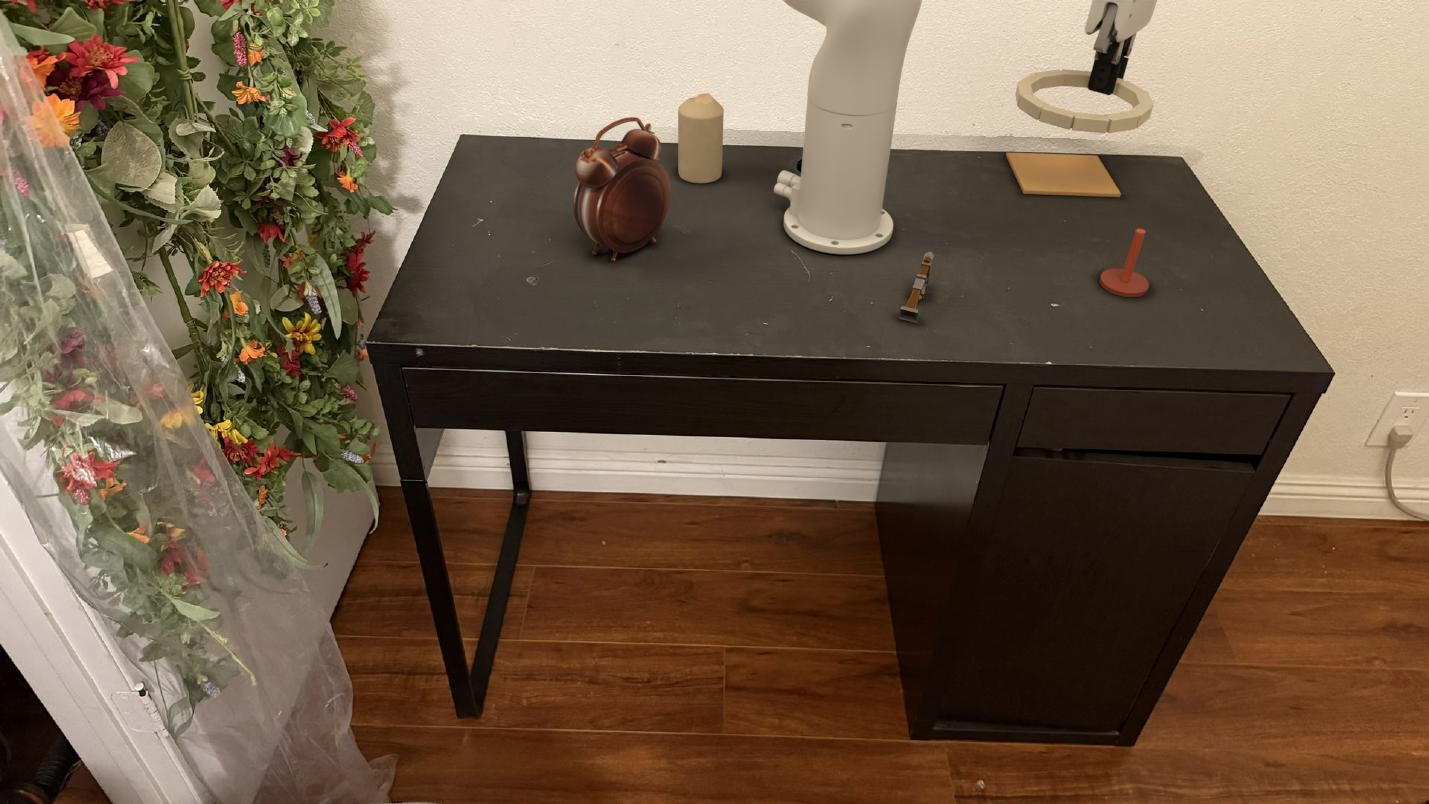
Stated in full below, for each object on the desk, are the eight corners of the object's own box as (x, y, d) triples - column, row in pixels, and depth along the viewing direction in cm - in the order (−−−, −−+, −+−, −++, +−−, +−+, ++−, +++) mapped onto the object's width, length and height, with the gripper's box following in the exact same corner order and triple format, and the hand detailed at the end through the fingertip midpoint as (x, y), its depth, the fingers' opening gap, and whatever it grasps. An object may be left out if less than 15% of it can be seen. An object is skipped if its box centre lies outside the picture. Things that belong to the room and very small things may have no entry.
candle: (695, 160, 128) (696, 85, 122) (730, 172, 126) (732, 95, 120) (669, 175, 125) (668, 98, 119) (704, 188, 123) (706, 109, 116)
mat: (1023, 193, 123) (1024, 190, 123) (1005, 155, 132) (1006, 152, 132) (1120, 197, 123) (1121, 193, 123) (1096, 158, 132) (1097, 155, 131)
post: (1091, 286, 107) (1108, 231, 103) (1110, 268, 110) (1126, 214, 106) (1136, 303, 104) (1155, 247, 100) (1154, 284, 107) (1173, 229, 103)
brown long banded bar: (936, 275, 106) (939, 249, 102) (915, 336, 103) (917, 311, 99) (920, 271, 106) (922, 245, 102) (898, 332, 103) (900, 307, 99)
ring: (1117, 144, 113) (1121, 131, 112) (993, 107, 121) (996, 95, 120) (1167, 104, 123) (1171, 91, 122) (1049, 72, 130) (1052, 60, 129)
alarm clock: (645, 225, 115) (642, 99, 105) (674, 240, 112) (674, 113, 103) (572, 258, 109) (562, 128, 99) (601, 275, 106) (593, 143, 97)
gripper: (1139, -85, 121) (1100, 65, 133) (1086, -60, 111) (1048, 99, 123) (1201, -74, 117) (1155, 79, 129) (1151, -47, 108) (1107, 116, 119)
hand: (1103, 88), depth 126 cm, fingers closed on ring, 1 cm apart
